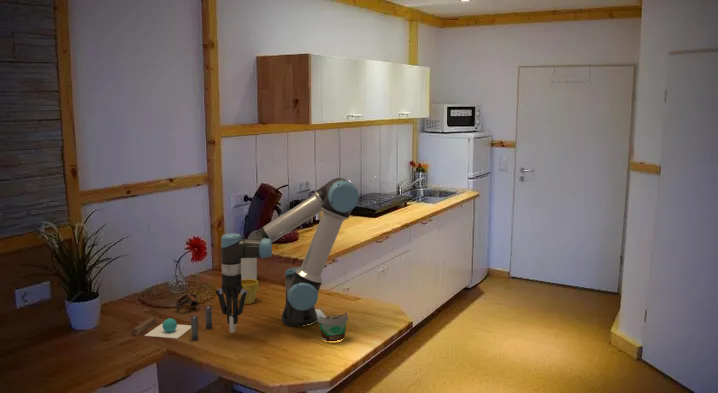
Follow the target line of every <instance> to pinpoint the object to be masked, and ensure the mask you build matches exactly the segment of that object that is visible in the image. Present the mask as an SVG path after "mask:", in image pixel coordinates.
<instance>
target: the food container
mask: <svg viewBox="0 0 718 393" xmlns="http://www.w3.org/2000/svg"><path fill="white" fill-rule="evenodd" d="M348 321H349V317H348V314H347V312H346V311H345V313H344V314H340V315H339V314H338V315H336V314H334V315H330V316H326V317H322V316H321V315H320V316H318V317H317V323H319V329H320V338H322V339H323V340H326V341H337V340H341V339H343V338H344V337H345V336H346V328H347V326H346V325H347V322H348ZM344 339H345V338H344Z"/></svg>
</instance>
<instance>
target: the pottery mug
mask: <svg viewBox="0 0 718 393" xmlns="http://www.w3.org/2000/svg"><path fill="white" fill-rule="evenodd" d="M174 304H175V305H176V306H175V307H176V309H177V310H178V311H180V310H181V309H186V305H190V306H195V309H196V312H199V311H200V309H201V308H200V307H201V306H200V304H199V302H198V299H197V295H196V294H195V293H187V294H183V295H182V296H180V297H179V298H178V299H177V300H176V302H175V303H174Z"/></svg>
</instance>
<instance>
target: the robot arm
mask: <svg viewBox="0 0 718 393" xmlns="http://www.w3.org/2000/svg"><path fill="white" fill-rule="evenodd" d="M358 203H359V193H358V189H357V187H356V186H355V185H354V184H353V183H352V182H350V181H348V180H347V179H346V178H342V177H335V178H334V179H330V180H329V181H328V182H326V183H325V184H324V185H322V186H321V187H319V188H318V189H316V190H315V192H314V194H313V195H311V196H310V197H308V198H306V200H303V201H301V202H300V203H299V204H297V205H296V206H294V207H293V208H291V209H289V210H288V211H286V212H284V213H282V215H279V216H278V217H276V218H275V219H273V220H272V221H270V222H269V223H267V224H266V225H264V226H262V227H261V228H259V229H257V230H253V231H252V232H251V233H250V234H249V235H248V237H247V238H242V237H241V236H242V235H241V234H239V233H233V232H230V233H225V234H223V235H222V236H221V239H220V240H221V242H220V244H221V245H220V253H221V254H220V255H221V257H220V258H221V273H222V274H221V284H222V285H220V288H217V289H216V290H215V294H216V295H217V297H218V298H217V299H218V301H219V305H220V310H221V314H223V315H225V316H226V317H227V320H226V322H227V324H228V325H229V333H231V334H232V333H233V334H234V333H235V332H236V331H237V324H238V322H239V319H238V318H239V316H241V314H243V313H244V312H243V311H244V306H245V304H244V303H245V298H246V295H247V294H248V291H245V290H244V289H243V287H242V284H241V283H242V277H241V258H257V259H265V258H271V257H272V256H273V243H274V242H276V241H277V240H278V239H281V238H282V237H283V236H285V235H287V234H288V233H290V232H292V231H293V230H295V229H297V227H299V226H301V225H303V224H304V223H306V222H307V221H309V220H310V219H312V218H313V217H315V216H317V215H319V214H321V213H322V214H321V217H320V220H319V223H318V224H317V227H316V229H315V232H314V234H313V237H312V239H311V242H310V244H309V247H308V249H307V251H306V254H305V256H304V259H303V261H302V263H301V266H299V267H297V266H296V267H290V268H287V269H286V270H285V275H284V276H285V305H284V308H283V311H282V313H281V323H282V324H283V323H284V324H283V325H285V324H286V325H285V326H287V325H291V326H290V327H293V326H303V325H307V324H311V323H313V322H315V321H316V320H317V321H318V314H317V310H316V308H315V305H317V302H318V299H319V292H320V288H321V287H322V284H323V278H322V273H323V272H324V269H325V266H326V264H327V261H328V259H329V256H330V253H331V251H332V249H333V247H334V244H335V242H336V240H337V236H338V234H339V231H340V229H341V227H342V224H343V223H344V221H346V220H348V219H349V218H350V215H351V214H352V210H353V209H354V208H356V206H357V204H358ZM240 292H241V295H242V296H241V299H239V293H240Z"/></svg>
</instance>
